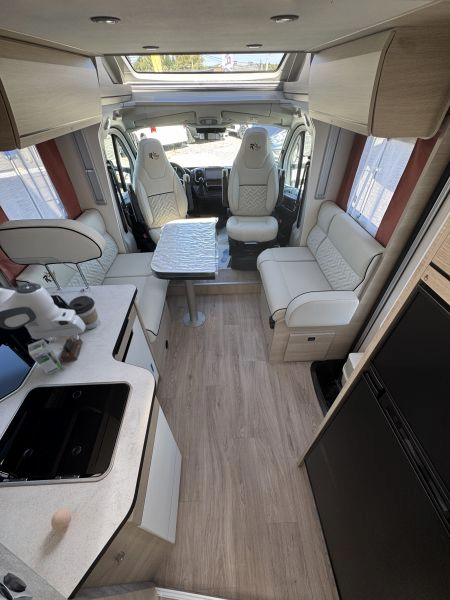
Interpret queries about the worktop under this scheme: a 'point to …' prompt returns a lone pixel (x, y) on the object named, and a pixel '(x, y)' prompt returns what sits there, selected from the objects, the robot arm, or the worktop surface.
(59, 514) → the egg
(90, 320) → the coffee cup
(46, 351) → the syrup box
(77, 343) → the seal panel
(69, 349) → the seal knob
